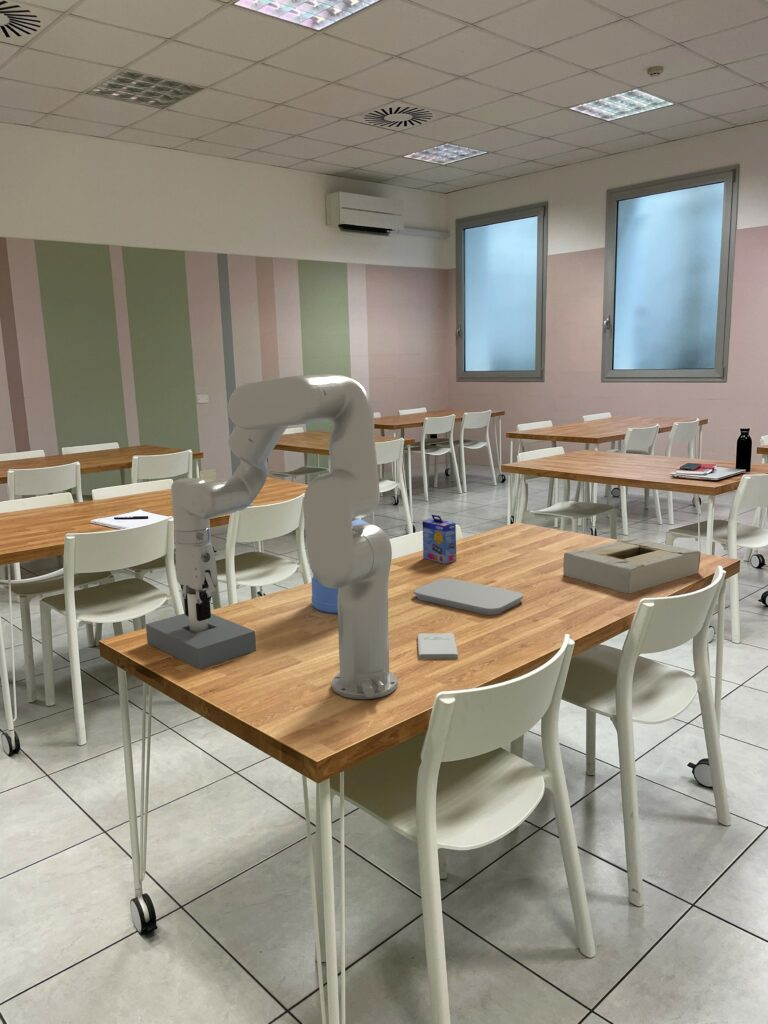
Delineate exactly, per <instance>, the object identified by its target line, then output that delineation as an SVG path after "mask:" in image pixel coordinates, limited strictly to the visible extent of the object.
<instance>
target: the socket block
mask: <svg viewBox="0 0 768 1024" xmlns="http://www.w3.org/2000/svg"><path fill="white" fill-rule="evenodd" d="M145 631H146V642H147V645H150V646H152V647H154V648H157V649H158V650H160V651H163V652H164V653H166V654H168V655H171V656H172V657H173V658H176V659H178V660H179V661H181V662H184V663H186V664H187V665H190V666H192V667H194V668H196V669H198V670H203V669H206V668H208V667H209V668H210V667H211V666H215V665H217V664H220V663H223V662H226V661H229V660H233V659H235V658H238V657H241V656H244V655H247V654H249V653H253V652H255V651H257V647H256V644H257V643H256V630H253V629H251V628H248V627H245V626H244V625H241V624H238V623H236V622H233V621H231V620H228V619H226V618H224V617H221V616H219V615H216V614H214V613H211V618H209V619H208V630H206V631H203V632H199V633H196V634H194V633H192V632H190V628H189V616H186V615H185V612H184V613H181V614H178V615H174V616H171V617H167V618H163V619H160V620H156V621H153V622H149V623H145Z"/></svg>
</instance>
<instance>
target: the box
mask: <svg viewBox="0 0 768 1024" xmlns="http://www.w3.org/2000/svg"><path fill="white" fill-rule="evenodd" d="M700 565H701V550H697V549H692V548H691V549H690V548H684V547H680V546H674V545H671V544H665V543H661V542H656V541H653V540H652V541H651V540H646V539H642V538H639V537H635V536H630V537H626V538H623V539H618V540H617V541H615V542H610V543H605V544H601V545H597V546H592V547H588V548H584V549H574V550H570V551H566V552H564V554H563V570H562V571H563V576H566V577H568V578H573V579H576V580H579V581H583V582H587V583H591V584H594V585H597V586H600V587H604V588H608V589H611V590H615V591H618V592H621V593H625V594H628V595H629V594H630V595H631V594H632V593H635V592H640V591H643V590H647V589H650V588H652V587H653V588H654V587H656V586H659V585H663V584H666V583H668V582H672V581H676V580H679V579H683V578H686V577H689V576H693V575H696V574H698V573H699V570H700Z"/></svg>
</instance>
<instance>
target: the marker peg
mask: <svg viewBox="0 0 768 1024" xmlns="http://www.w3.org/2000/svg"><path fill="white" fill-rule="evenodd" d="M202 587H203V588H204V587H205V585H203V586H202ZM186 591H187V599H188V613H189V628H190V632H192V633H194V634H196V633H199V632H203V631H206V630H208V619H206V620H202V621H197V615H196V603H198V602H197V596H196V590H195V589H192V588H190V587H189V586H188V585H187V586H186ZM203 593H205V591H202V592H201V596H202V594H203Z"/></svg>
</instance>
